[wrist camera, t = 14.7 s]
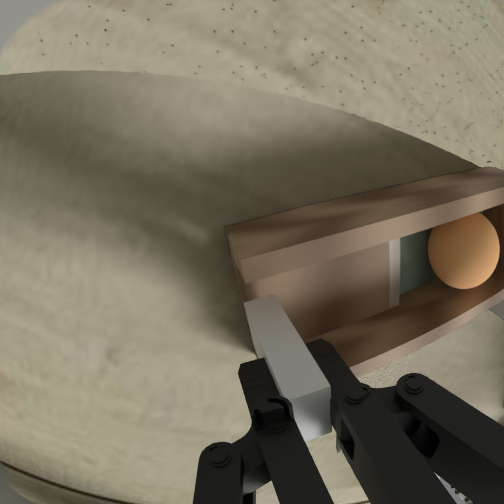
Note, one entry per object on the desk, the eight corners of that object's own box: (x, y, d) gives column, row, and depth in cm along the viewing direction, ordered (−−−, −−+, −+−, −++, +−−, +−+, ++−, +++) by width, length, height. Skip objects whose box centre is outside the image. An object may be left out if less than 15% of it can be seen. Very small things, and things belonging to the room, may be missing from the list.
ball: (489, 266, 18) (427, 264, 21) (494, 199, 16) (427, 198, 19) (498, 306, 15) (424, 303, 17) (510, 227, 13) (426, 225, 15)
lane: (256, 355, 19) (275, 406, 15) (224, 226, 16) (240, 260, 12) (483, 265, 22) (521, 287, 18) (488, 166, 18) (534, 178, 14)
